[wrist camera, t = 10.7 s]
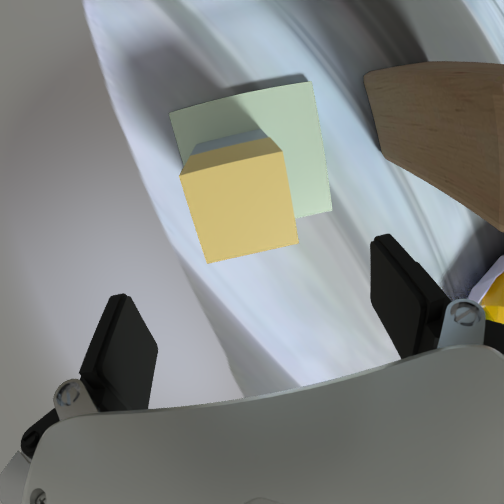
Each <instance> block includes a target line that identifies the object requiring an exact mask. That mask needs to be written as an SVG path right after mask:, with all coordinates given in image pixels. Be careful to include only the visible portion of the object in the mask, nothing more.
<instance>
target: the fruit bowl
mask: <svg viewBox="0 0 504 504" xmlns="http://www.w3.org/2000/svg"><path fill="white" fill-rule="evenodd" d="M467 299H469V300H473V301H475V302H476V303H478V304H479V305H480V306H481V307H482V308H483V309H484V311H485V316H486V319H487V320H491V321H494V322H498V323H502V324H504V255H503V256H500V257H499V259H498V260H497V261H496V262H495V263H494V265H493V266H492V267H491V268H490V269H489V270H488V272H487V273H486V274H485V275H484V276H483V277H482V278H481V280H480V281H479V282H478V283H477V284H476V285H475V286H474V287H473V288H472V290H471V292H470V294H469V296H468V298H467Z"/></svg>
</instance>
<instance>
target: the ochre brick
mask: <svg viewBox="0 0 504 504" xmlns="http://www.w3.org/2000/svg"><path fill="white" fill-rule="evenodd" d="M179 177H180V181H181V184H182V187H183V191H184V194H185V197H186V200H187V203H188V207H189V210H190V213H191V216H192V219H193V222H194V226H195V229H196V232H197V235H198V238H199V241H200V244H201V247H202V250H203V253H204V256H205V259H206V262H207V264H208V263H213V262H217V261H222V260H226V259H231V258H235V257H240V256H244V255H249V254H253V253H258V252H262V251H267V250H271V249H276V248H280V247H284V246H289V245H293V244H298V243H299V241H298V235H297V228H296V222H295V216H294V210H293V205H292V199H291V193H290V188H289V182H288V177H287V171H286V166H285V161H284V155H283V151H282V150H281V149H280V148H279V147H278V145H277V144H276V143H275V142H274V141H273V140H272V139H271V138H270V137H267V138H263V139H258V140H253V141H249V142H244V143H240V144H235V145H231V146H227V147H223V148H218V149H214V150H210V151H207V152H203V153H199V154H195V155H191V156H190V157H189V159H188V160H187V162H186V164H185V166H184V168H183V169H182V171H181V173H180V175H179Z"/></svg>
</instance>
